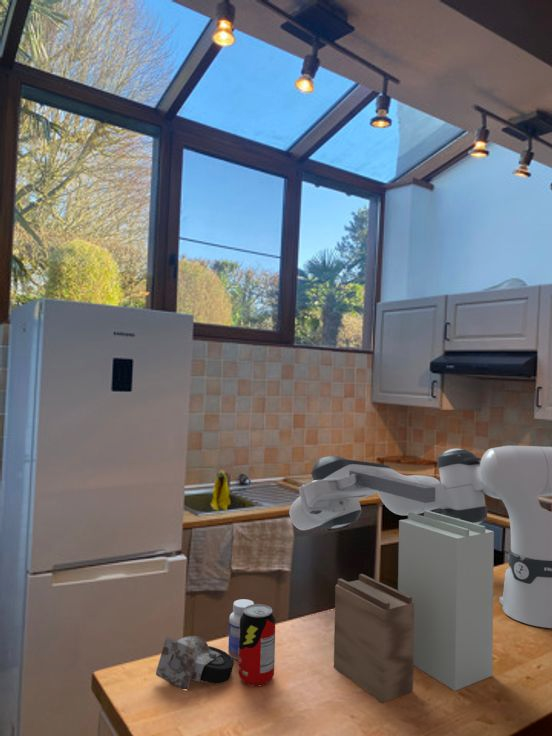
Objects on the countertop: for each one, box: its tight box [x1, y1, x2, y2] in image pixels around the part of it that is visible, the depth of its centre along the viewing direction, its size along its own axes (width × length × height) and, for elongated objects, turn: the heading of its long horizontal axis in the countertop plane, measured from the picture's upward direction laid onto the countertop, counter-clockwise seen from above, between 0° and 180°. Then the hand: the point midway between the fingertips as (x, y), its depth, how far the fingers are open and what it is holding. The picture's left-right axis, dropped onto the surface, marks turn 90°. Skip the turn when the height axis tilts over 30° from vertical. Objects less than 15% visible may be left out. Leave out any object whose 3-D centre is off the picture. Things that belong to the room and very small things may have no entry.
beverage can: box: [238, 603, 276, 687], centre depth 96 cm, size 6×6×12 cm
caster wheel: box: [155, 635, 235, 690], centre depth 96 cm, size 7×11×10 cm
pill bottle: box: [227, 598, 255, 661], centre depth 104 cm, size 5×5×10 cm
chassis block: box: [333, 573, 414, 704], centre depth 97 cm, size 7×13×16 cm, turn 32°
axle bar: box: [349, 470, 435, 503], centre depth 115 cm, size 3×23×3 cm, turn 31°
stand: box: [397, 510, 495, 692], centre depth 102 cm, size 10×14×27 cm
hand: (363, 476), depth 122 cm, fingers closed on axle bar, 3 cm apart
